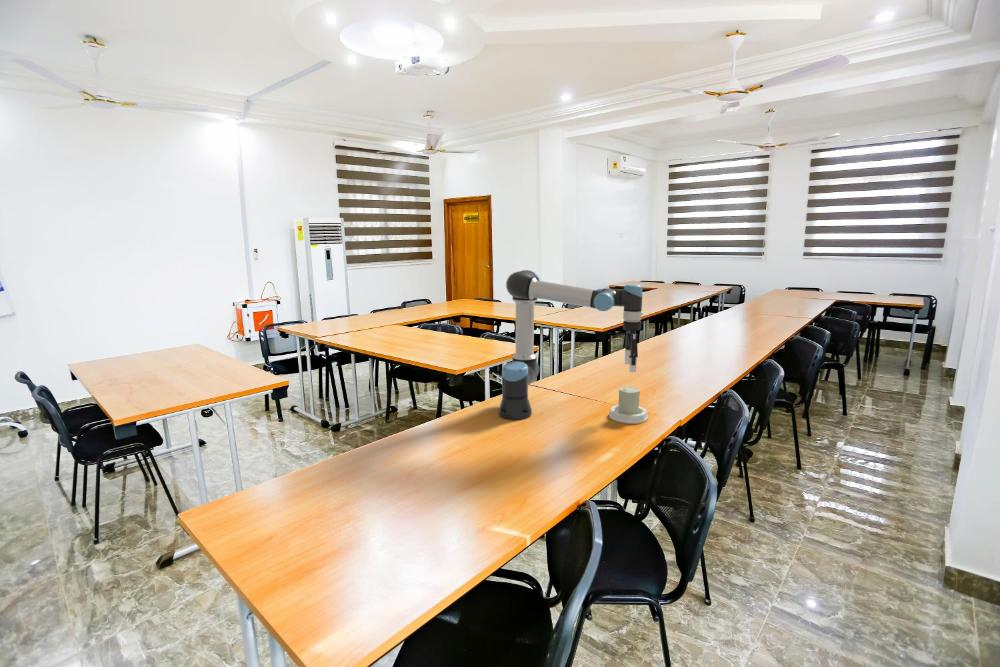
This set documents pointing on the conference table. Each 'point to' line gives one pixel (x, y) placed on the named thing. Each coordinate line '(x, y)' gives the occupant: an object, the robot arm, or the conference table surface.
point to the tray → (628, 416)
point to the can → (629, 400)
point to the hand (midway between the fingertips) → (630, 368)
